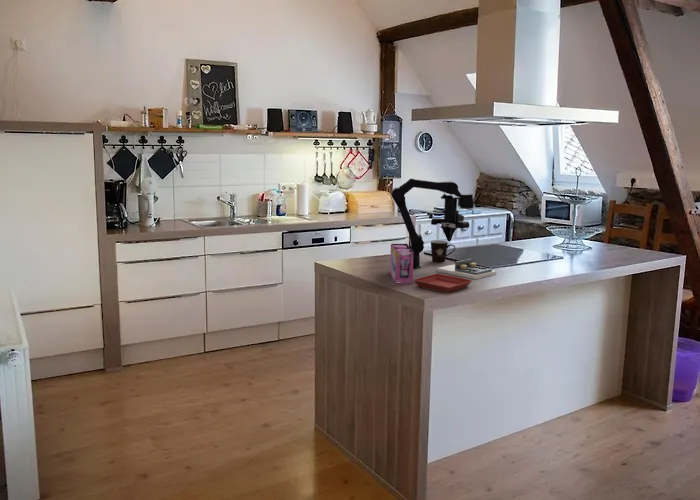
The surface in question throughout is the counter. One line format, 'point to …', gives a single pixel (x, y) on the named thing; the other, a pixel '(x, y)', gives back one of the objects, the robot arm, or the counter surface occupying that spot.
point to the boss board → (451, 270)
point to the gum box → (401, 263)
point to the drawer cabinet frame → (469, 269)
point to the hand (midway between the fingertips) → (449, 241)
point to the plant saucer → (442, 282)
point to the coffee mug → (439, 250)
